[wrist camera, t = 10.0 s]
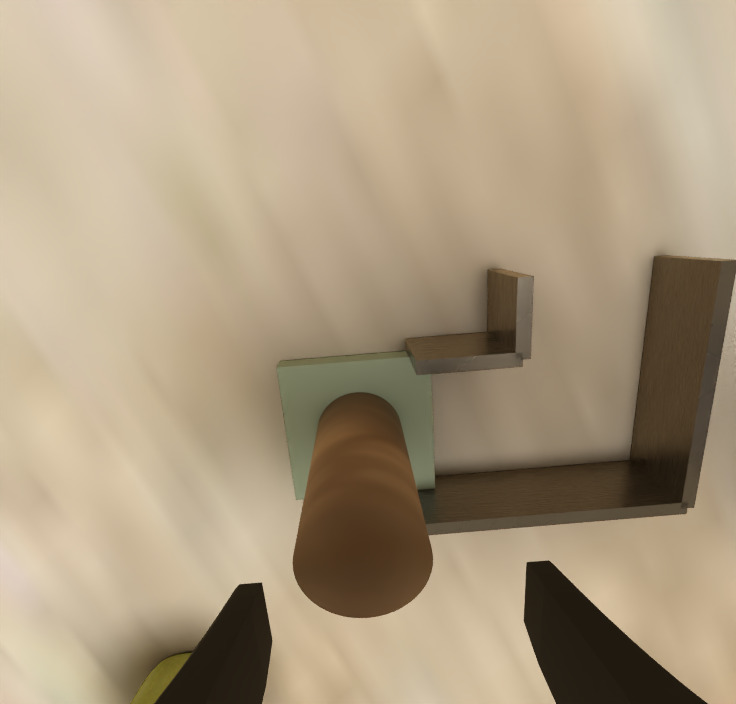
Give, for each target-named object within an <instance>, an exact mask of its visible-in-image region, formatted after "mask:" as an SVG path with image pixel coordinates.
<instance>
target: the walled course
mask: <svg viewBox="0 0 736 704" xmlns="http://www.w3.org/2000/svg"><path fill="white" fill-rule="evenodd" d="M735 274H736V260H732V259H716V258H700V257H685V256H669V255H667V256H655V257H654V265H653V273H652V282H651V290H650V298H649V307H648V315H647V323H646V332H645V340H644V348H643V357H642V365H641V373H640V382H639V390H638V398H637V407H636V415H635V423H634V432H633V440H632V448H631V457H630V460H629V461H617V462H605V463H593V464H581V465H569V466H557V467H544V468H532V469H520V470H508V471H496V472H484V473H472V474H460V475H448V476H436V477H435V488H433V489H421V490H417V491H418V495H419V499H420V503H421V507H422V512H423V516H424V520H425V524H426V528H427V532H428V535H437V534H449V533H461V532H473V531H485V530H497V529H509V528H521V527H533V526H545V525H557V524H569V523H581V522H593V521H605V520H617V519H629V518H641V517H653V516H665V515H677V514H686V513H687V508H694V505H695V500H696V494H697V488H698V483H699V477H700V471H701V466H702V460H703V454H704V449H705V443H706V438H707V432H708V426H709V421H710V415H711V409H712V404H713V398H714V392H715V387H716V381H717V376H718V370H719V364H720V359H721V353H722V347H723V342H724V336H725V330H726V325H727V319H728V313H729V308H730V302H731V297H732V291H733V285H734V280H735ZM533 284H534V276H530V275H526V274H521V273H517V272H513V271H508V270H504V269H493V270H488V326H487V332H482V333H469V334H457V335H445V336H432V337H420V338H408V339H405V341H406V352H407V354H408V357H409V359H410V361H411V364H412V366H413V368H414V371H415V373H416V375H427V374H439V373H451V372H464V371H476V370H488V369H500V368H513V367H523V359H531V336H532V310H533Z"/></svg>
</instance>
